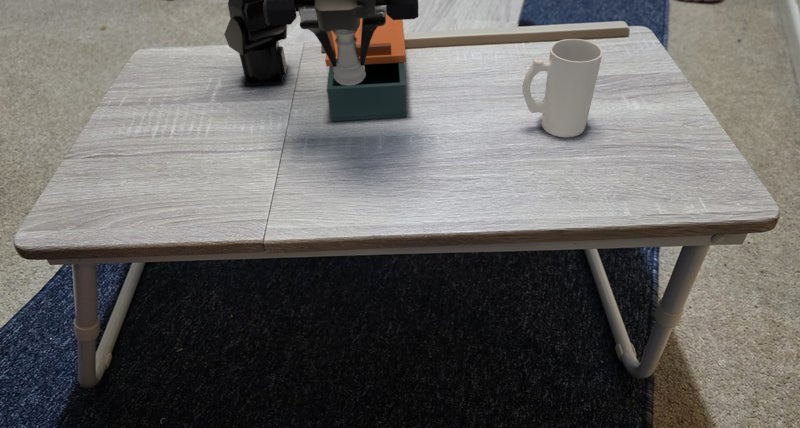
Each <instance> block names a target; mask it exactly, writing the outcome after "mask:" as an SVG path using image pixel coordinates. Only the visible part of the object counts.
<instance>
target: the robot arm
mask: <svg viewBox="0 0 800 428" xmlns="http://www.w3.org/2000/svg"><path fill="white" fill-rule="evenodd" d="M227 6H228V12H229V17H230V19H229V20H228V24H227V26H226V28H225V31H224V37H225V40H226V43H227V45H228V47H229V48H230V49H232V50H233V51H235V52H236V53H238V54H239V58H240V62H241V66H242V70H243V74H244V80H243V86H244V87H251V86H252V87H253V86H271V85H281V84H283V81H284V77H285V76H286V74H287V69H288V67H287V66H288V65H287V61H286V55H285V51H284V47H283V46H282V45H280V42H279V41H282V40H286V39H287V35H288V26H289V25H292V24H293V23H294V21H295V20H296V19H297V12H298V15H299V18H300V21H299V27H300V29H301V30H308V31H310V32H311V33H313V34H314V35H315V37H316V39H317V40H318V41H319V43H320V45H321V46H322V48H323V50H324V52H325V55H326V54H327V56H328V58H329V60H330V62H331V64H332V65H333V67H336V52H335V47H334V42H333V37H332V32H331V31H332V30H344V29H346V30H348V31H351V30H356V29H357V28H358V27H359V26H360V18H362V32H361V49H360V60H361V65H364V63H365V59H366V56H367V52H368V48H369V44H370V41H371V38H372V36H373V33H374V31H375V30H376V28H377V27H378V26H383V25H385V24H386V14H387V15H388V16H389V17H390V18H391V19H393V20H415V19H418V18H419V0H228V2H227Z"/></svg>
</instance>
